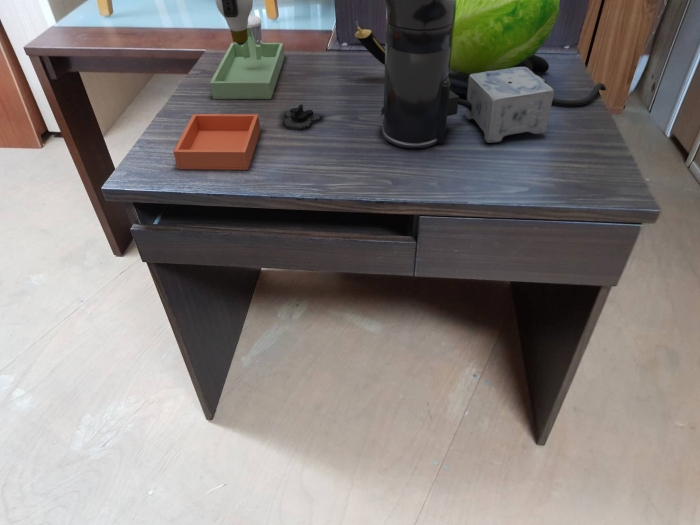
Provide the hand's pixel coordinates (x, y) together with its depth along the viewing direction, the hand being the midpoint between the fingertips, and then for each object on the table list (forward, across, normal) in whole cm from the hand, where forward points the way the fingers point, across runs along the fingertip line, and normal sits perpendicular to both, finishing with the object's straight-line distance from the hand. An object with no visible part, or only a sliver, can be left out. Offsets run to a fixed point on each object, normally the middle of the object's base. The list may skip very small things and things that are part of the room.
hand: (235, 9), depth 90 cm
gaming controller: (+14, +3, -50) cm, 52 cm away
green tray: (+13, +5, 0) cm, 14 cm away
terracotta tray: (+14, -21, 0) cm, 25 cm away
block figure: (+14, -12, -11) cm, 21 cm away
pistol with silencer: (+4, -3, -29) cm, 29 cm away
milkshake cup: (+13, +9, 0) cm, 16 cm away
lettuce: (+5, -7, -42) cm, 42 cm away
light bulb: (+6, 0, 0) cm, 6 cm away
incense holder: (+14, -14, -43) cm, 47 cm away
